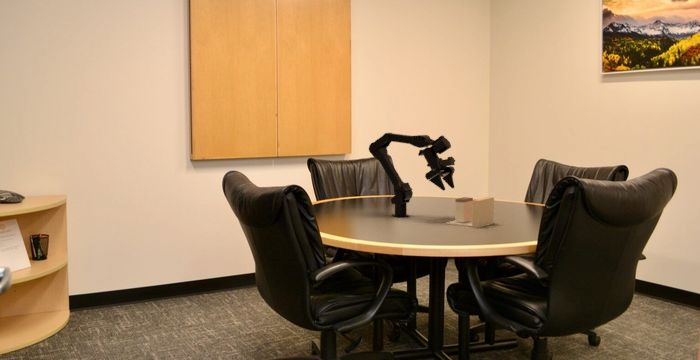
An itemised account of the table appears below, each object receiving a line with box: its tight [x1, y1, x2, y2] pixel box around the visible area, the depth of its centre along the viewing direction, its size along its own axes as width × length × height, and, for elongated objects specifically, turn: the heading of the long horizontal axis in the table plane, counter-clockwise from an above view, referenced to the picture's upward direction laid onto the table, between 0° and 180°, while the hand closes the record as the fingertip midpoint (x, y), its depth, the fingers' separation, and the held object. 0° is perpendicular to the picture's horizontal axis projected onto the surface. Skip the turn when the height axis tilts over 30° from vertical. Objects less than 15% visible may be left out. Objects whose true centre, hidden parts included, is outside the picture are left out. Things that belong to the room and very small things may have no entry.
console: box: [445, 196, 495, 229], centre depth 278 cm, size 16×14×12 cm
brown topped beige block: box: [455, 196, 474, 222], centre depth 280 cm, size 4×8×10 cm, turn 141°
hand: (449, 189), depth 286 cm, fingers open, 9 cm apart
